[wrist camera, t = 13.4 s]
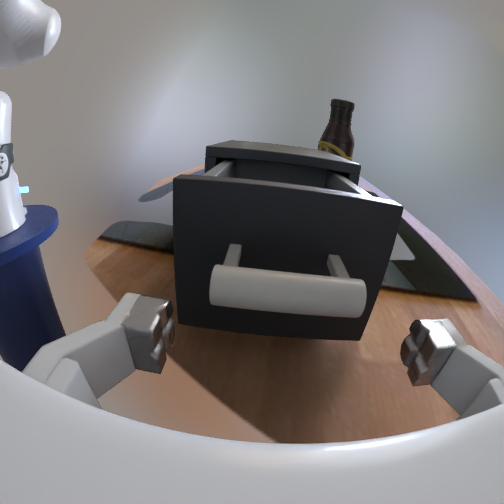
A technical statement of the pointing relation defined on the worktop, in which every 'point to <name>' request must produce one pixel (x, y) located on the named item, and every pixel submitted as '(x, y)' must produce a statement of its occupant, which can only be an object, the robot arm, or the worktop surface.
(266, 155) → the cabinet
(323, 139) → the sauce bottle
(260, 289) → the drawer
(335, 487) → the robot arm
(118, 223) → the worktop surface
